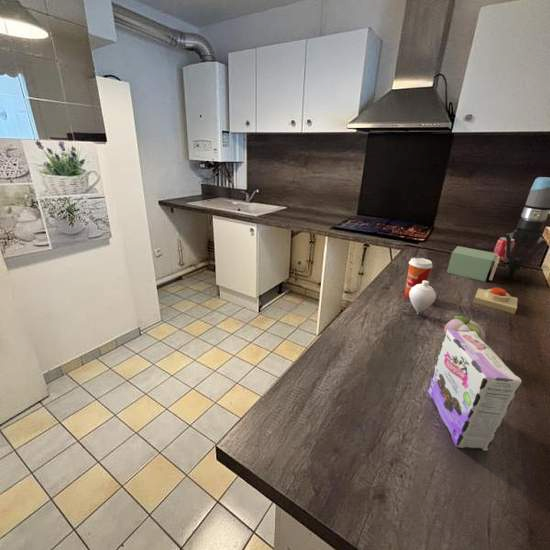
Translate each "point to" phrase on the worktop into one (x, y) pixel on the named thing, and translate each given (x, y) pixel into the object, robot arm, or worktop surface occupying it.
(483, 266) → the cabinet
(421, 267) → the paper cup
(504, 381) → the candy box
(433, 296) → the spinning top
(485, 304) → the block
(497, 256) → the drawer
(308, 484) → the worktop surface
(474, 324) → the decorative fruit
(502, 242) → the soda can
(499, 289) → the button
